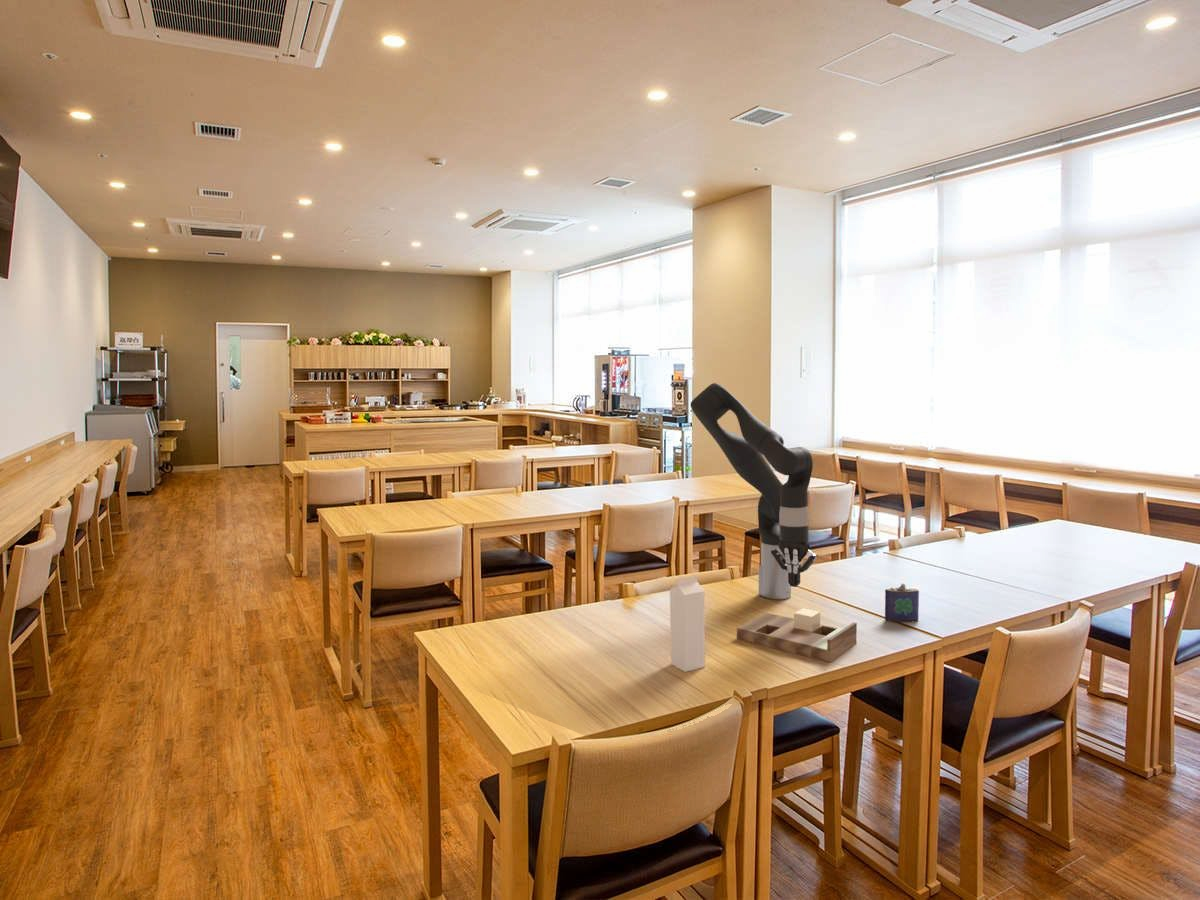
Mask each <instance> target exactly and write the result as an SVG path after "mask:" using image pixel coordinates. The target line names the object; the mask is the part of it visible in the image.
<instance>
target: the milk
mask: <svg viewBox="0 0 1200 900" xmlns="http://www.w3.org/2000/svg"><path fill="white" fill-rule="evenodd" d="M669 593H670V594H669V601H670V602H669V609H670V612H669V613H670V617H669V621H670V624H669V625H670V664H671V665H672V666H674V667H675V668H677V669H678V670H681V671H683V672H684V673H687V672H690V671H694V670H698V669H703V668H705V667H706V654H705V653H706V640H705V639H706V633H705V631H706V623H705V621H706V620H705V619H706V618H705V616H706V613H705V612H706V611H705V610H706V609H705V608H706V607H705V590H704V588H703V586H701V585H700V583H699V582H698V576H697V575H691V576H686V577H681V578H677V579H676V585H675V586H673V587H671V588H670V589H669Z"/></svg>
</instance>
